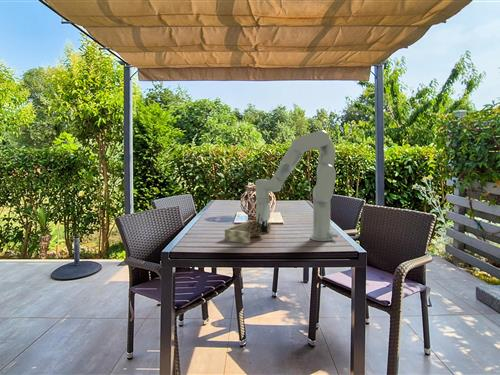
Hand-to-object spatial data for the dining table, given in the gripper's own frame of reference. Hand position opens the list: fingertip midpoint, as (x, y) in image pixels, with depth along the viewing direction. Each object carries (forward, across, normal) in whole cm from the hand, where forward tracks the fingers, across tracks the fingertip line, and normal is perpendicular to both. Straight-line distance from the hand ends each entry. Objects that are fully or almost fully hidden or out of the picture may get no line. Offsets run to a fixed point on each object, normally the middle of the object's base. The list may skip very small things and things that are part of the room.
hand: (264, 232), depth 187 cm
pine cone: (+3, +2, -10) cm, 10 cm away
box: (+3, 0, -10) cm, 11 cm away
